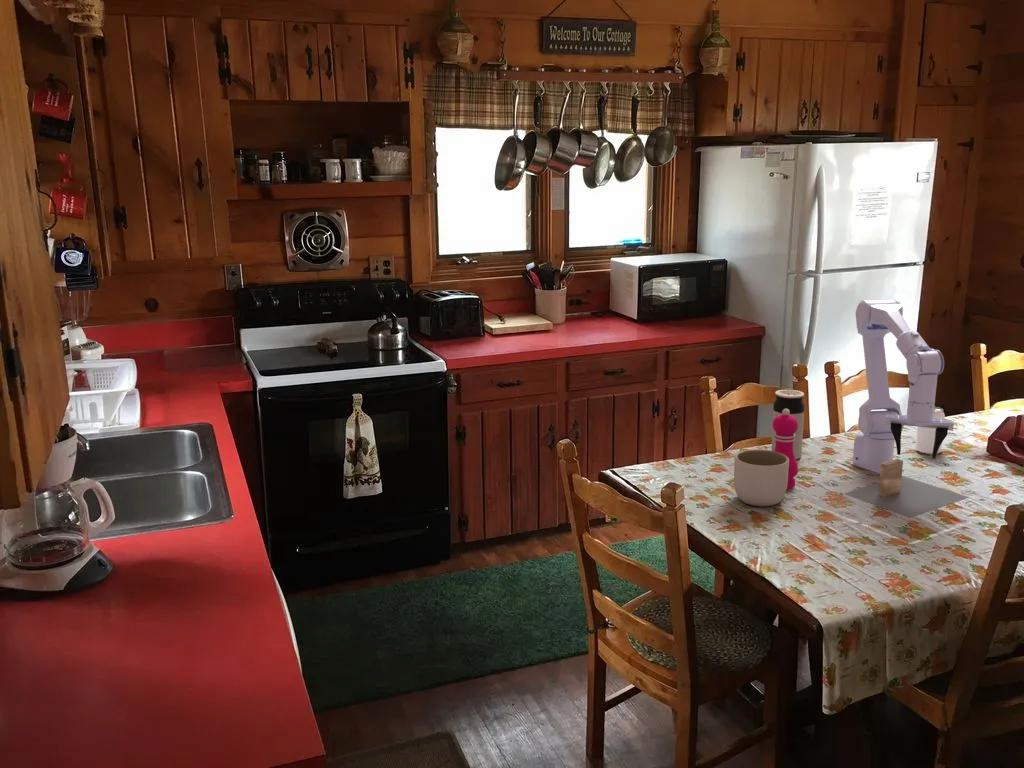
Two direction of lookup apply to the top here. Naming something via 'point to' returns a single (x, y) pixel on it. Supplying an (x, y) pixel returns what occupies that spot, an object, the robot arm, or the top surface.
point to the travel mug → (796, 408)
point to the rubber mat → (908, 497)
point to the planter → (760, 476)
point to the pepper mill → (786, 441)
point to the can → (928, 435)
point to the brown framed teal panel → (890, 477)
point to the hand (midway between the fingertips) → (916, 455)
